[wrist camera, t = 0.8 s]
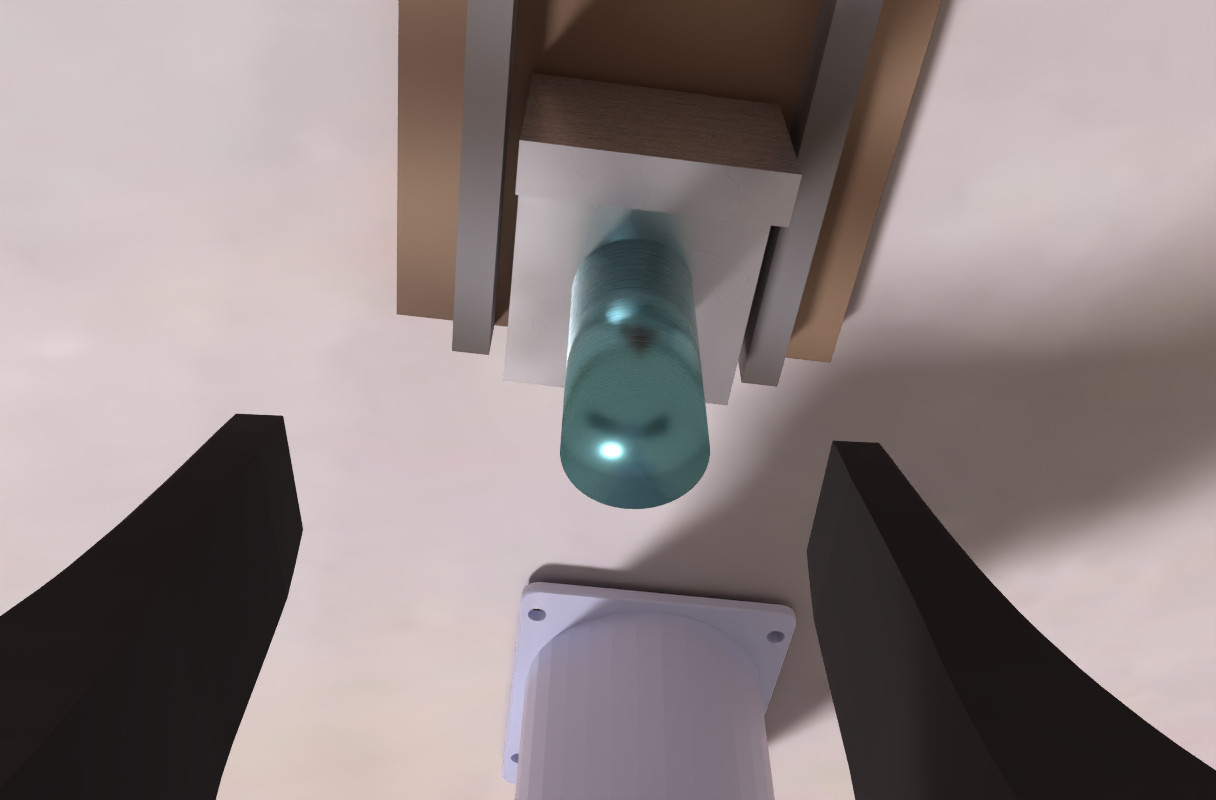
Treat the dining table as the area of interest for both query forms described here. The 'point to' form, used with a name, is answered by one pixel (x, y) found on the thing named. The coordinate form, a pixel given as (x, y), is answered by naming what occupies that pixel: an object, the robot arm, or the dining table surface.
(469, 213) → the frame
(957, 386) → the dining table surface
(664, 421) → the ram
